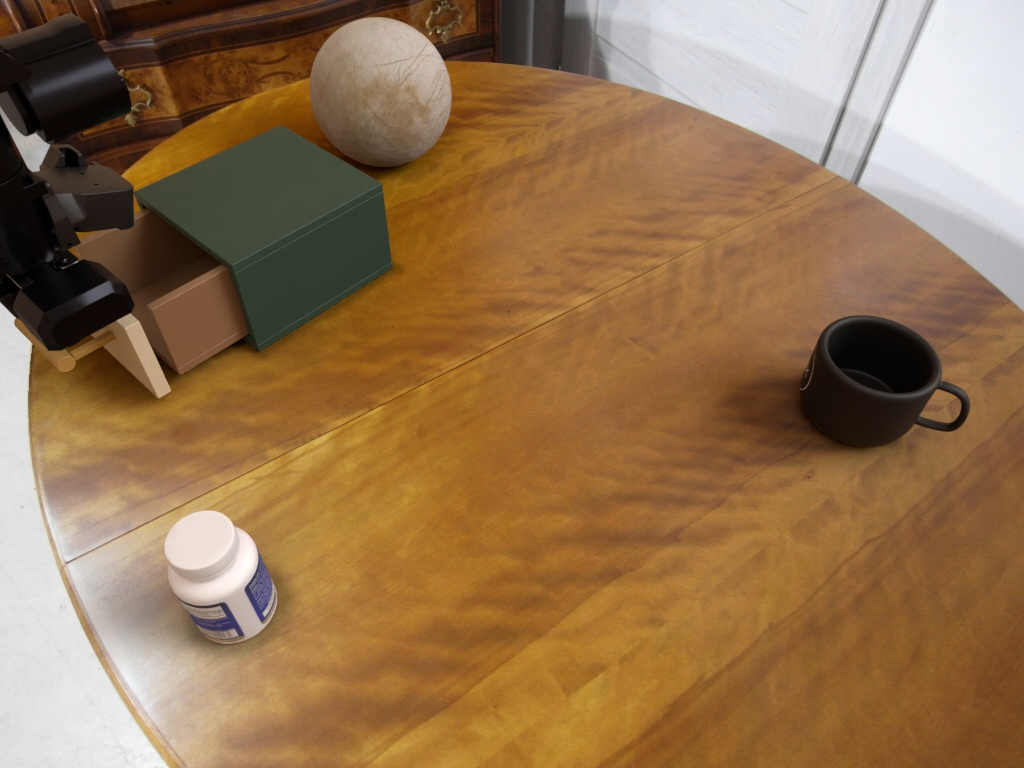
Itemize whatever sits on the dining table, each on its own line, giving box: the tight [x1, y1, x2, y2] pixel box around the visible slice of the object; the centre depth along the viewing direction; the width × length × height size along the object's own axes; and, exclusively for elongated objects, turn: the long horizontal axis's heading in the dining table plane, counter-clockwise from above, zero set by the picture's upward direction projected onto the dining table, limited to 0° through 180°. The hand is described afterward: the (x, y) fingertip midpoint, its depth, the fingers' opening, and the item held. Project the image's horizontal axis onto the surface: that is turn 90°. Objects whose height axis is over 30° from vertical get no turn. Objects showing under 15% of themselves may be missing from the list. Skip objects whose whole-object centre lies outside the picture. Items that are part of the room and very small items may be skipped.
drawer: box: [13, 208, 249, 399], centre depth 65 cm, size 19×13×8 cm
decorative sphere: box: [309, 16, 453, 168], centre depth 83 cm, size 15×15×15 cm
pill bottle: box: [163, 509, 278, 645], centre depth 48 cm, size 5×5×9 cm
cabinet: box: [134, 124, 394, 353], centre depth 71 cm, size 16×15×10 cm
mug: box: [799, 314, 971, 448], centre depth 61 cm, size 12×9×7 cm
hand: (72, 342), depth 61 cm, fingers closed
